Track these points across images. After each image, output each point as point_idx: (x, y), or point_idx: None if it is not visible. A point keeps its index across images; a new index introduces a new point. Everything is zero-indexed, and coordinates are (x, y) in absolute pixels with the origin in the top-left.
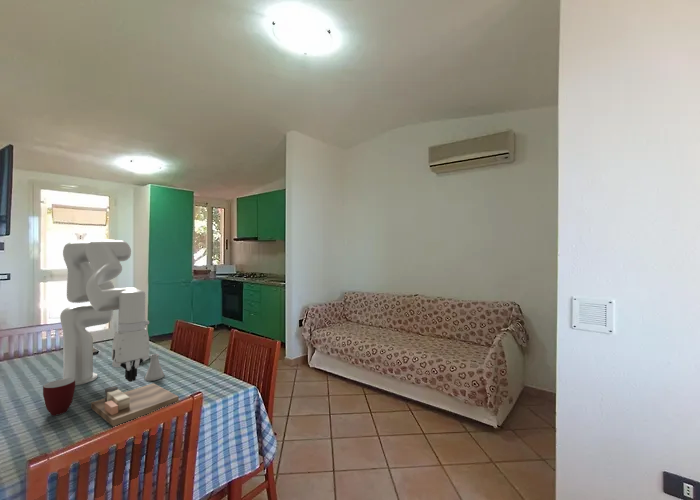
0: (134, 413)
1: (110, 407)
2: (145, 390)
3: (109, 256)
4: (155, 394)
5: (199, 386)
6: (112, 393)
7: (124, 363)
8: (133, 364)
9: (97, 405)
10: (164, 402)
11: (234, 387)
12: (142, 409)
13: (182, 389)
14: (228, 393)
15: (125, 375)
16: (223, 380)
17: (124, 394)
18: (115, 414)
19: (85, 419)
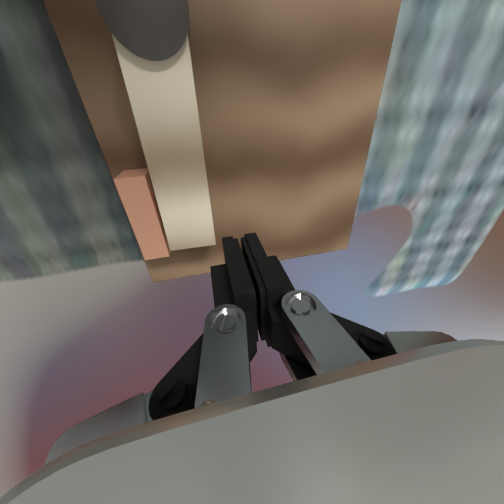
0: None
1: (141, 247)
2: (324, 66)
3: None
4: (320, 170)
5: (446, 167)
6: (149, 113)
7: (213, 382)
8: (293, 337)
9: (79, 66)
10: (303, 254)
11: (453, 252)
12: None
13: (411, 143)
14: (418, 274)
15: (212, 281)
16: (501, 181)
17: (205, 191)
18: None
19: (48, 134)
